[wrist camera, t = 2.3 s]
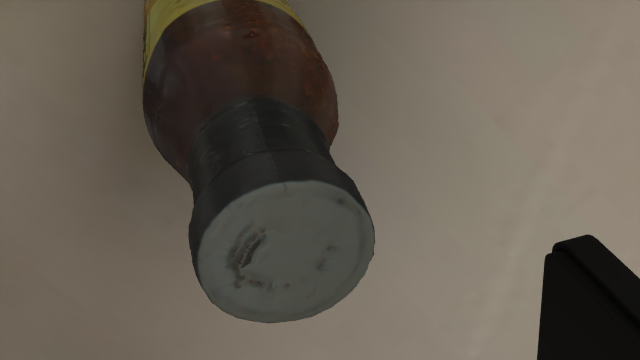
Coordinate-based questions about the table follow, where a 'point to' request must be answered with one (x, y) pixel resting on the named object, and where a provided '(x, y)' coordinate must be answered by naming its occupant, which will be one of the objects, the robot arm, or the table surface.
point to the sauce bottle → (254, 155)
